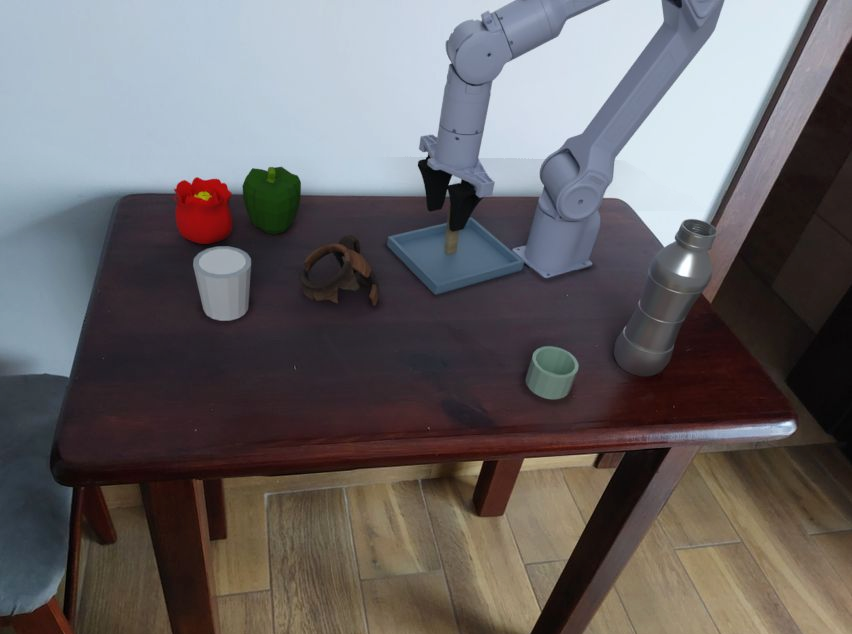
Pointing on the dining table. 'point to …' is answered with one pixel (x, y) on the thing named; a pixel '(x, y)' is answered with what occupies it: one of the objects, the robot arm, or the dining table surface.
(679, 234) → the grey metal bottle
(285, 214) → the bell pepper
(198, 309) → the dining table surface
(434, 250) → the spoon tray
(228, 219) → the flower
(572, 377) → the espresso cup
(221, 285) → the shot glass
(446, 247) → the stirrer
